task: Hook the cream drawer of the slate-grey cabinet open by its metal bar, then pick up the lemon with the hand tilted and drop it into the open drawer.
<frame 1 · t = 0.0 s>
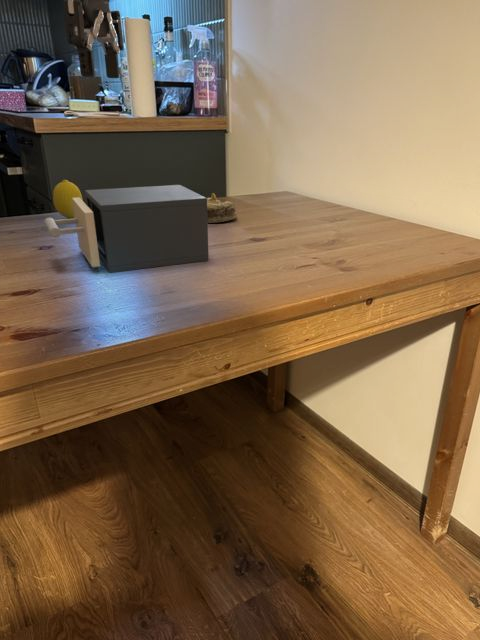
hand: (101, 77, 86), 26 cm above the table, tool pointing down, fingers open, 8 cm apart
cake: (214, 219, 107), on the table
cabinet: (149, 255, 82), on the table
drawer: (114, 228, 77), point 5 cm above the table, slide at 1.0 cm
lemon: (71, 221, 102), on the table
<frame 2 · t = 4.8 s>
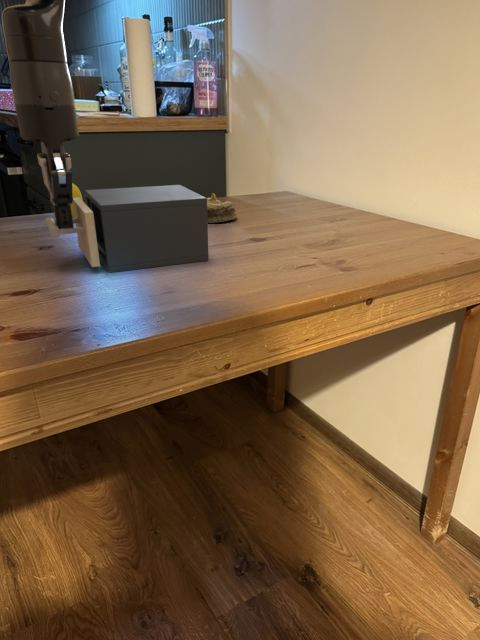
hand: (65, 230, 74), 5 cm above the table, tool pointing down, fingers closed
drawer: (114, 228, 77), point 5 cm above the table, slide at 1.0 cm, touching gripper
everything else where it was.
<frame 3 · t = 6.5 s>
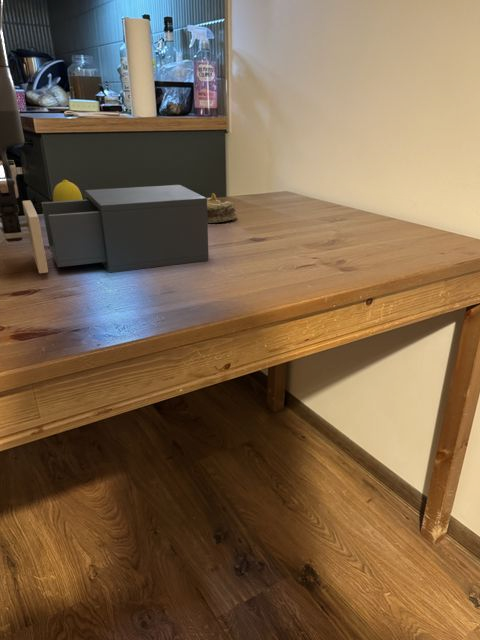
hand: (14, 240, 72), 4 cm above the table, tool pointing down, fingers closed
drawer: (66, 232, 74), point 5 cm above the table, slide at 8.2 cm, touching gripper
everything else where it was.
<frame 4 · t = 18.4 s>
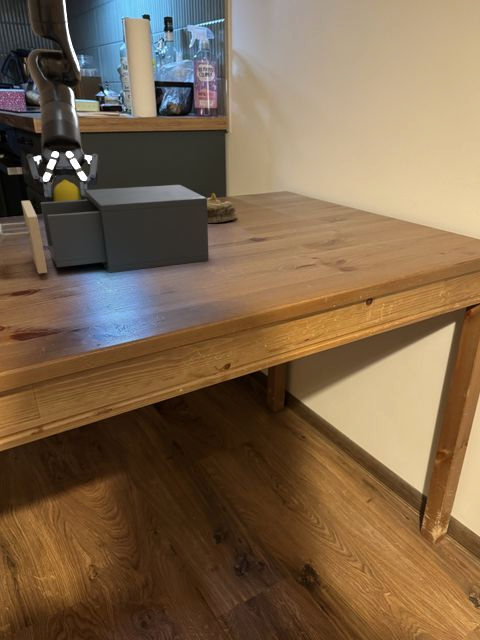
hand: (67, 200, 99), 4 cm above the table, tool tilted 45°, fingers closed on lemon, 5 cm apart
drawer: (65, 232, 74), point 5 cm above the table, slide at 8.3 cm
lemon: (71, 221, 102), on the table, touching gripper
everything else where it was.
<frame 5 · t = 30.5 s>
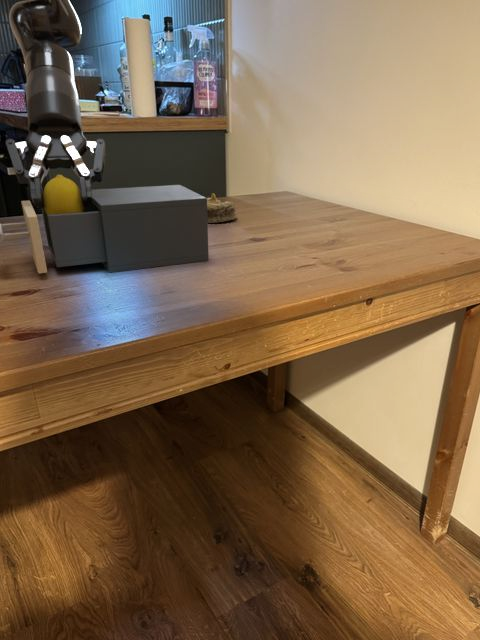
hand: (63, 204, 71), 9 cm above the table, tool tilted 45°, fingers closed on lemon, 5 cm apart
lemon: (68, 231, 75), point 5 cm above the table, touching gripper
everything else where it was.
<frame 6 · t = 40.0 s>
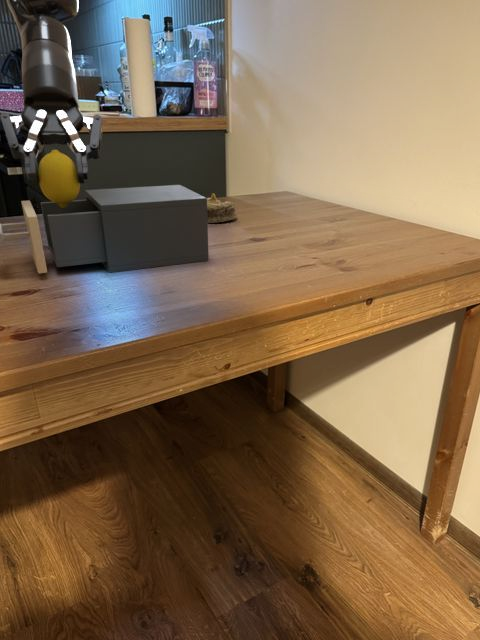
hand: (58, 179, 70), 13 cm above the table, tool tilted 45°, fingers closed on lemon, 5 cm apart
lemon: (63, 209, 73), point 8 cm above the table, touching gripper
everything else where it was.
when the fingers open (13 cm above the table, at t = 48.1 s): lemon drops 6 cm, resting on drawer.
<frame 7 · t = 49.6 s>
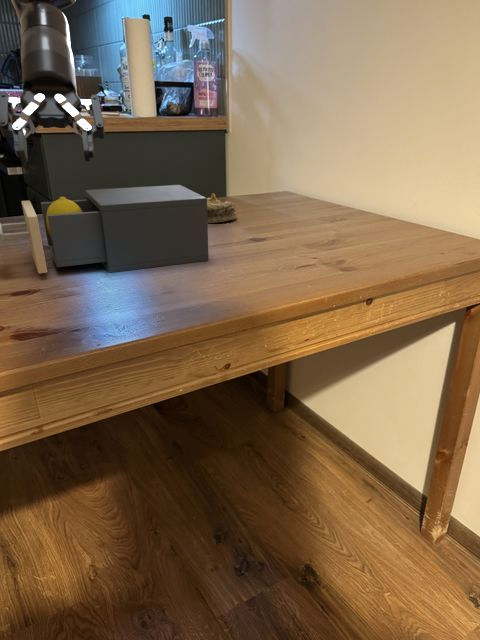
hand: (56, 158, 71), 15 cm above the table, tool tilted 45°, fingers open, 8 cm apart
drawer: (65, 232, 74), point 5 cm above the table, slide at 8.3 cm, touching lemon
lemon: (70, 251, 76), point 2 cm above the table, touching drawer
everything else where it was.
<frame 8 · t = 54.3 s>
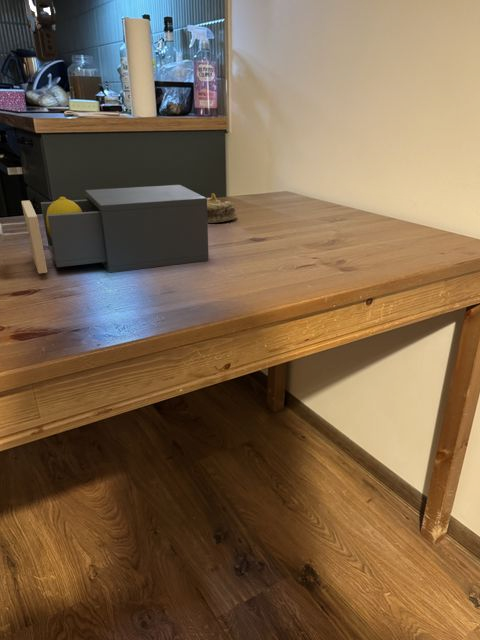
hand: (47, 60, 81), 28 cm above the table, tool pointing down, fingers open, 8 cm apart
nothing on the table moved.
at the end: drawer slide at 8.3 cm; lemon inside the target area in the drawer (0.2 cm from its centre), point 1.9 cm above the cabinet's base; the gripper is holding nothing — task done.
